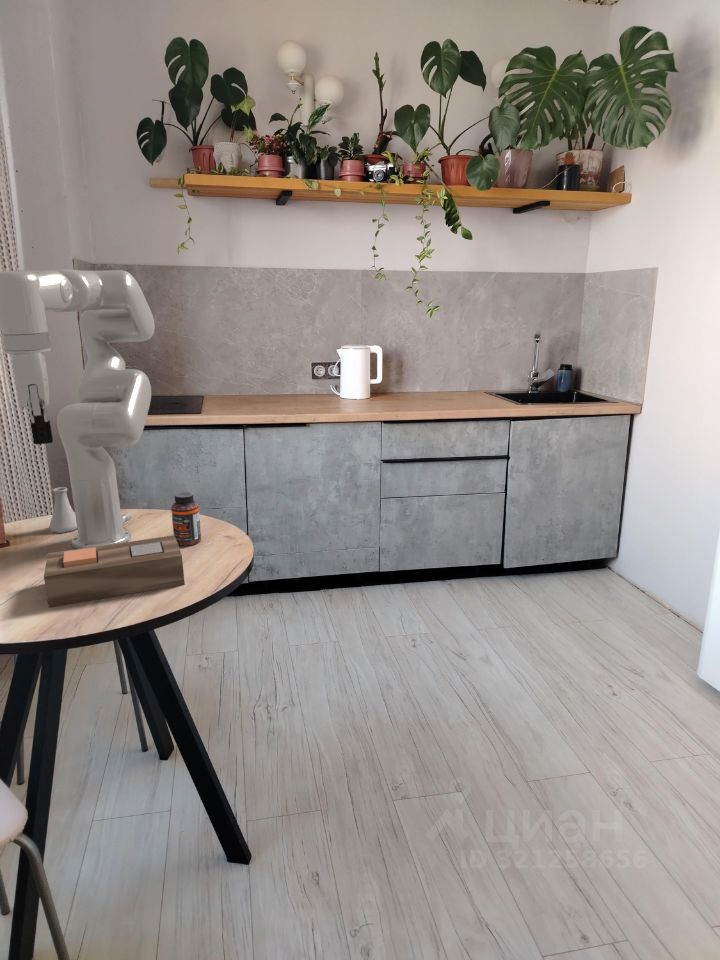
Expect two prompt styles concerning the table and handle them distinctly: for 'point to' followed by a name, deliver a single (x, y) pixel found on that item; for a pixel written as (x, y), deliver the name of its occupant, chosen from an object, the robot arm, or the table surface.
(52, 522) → the flask
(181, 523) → the supplement bottle
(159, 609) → the table surface
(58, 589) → the button console
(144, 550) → the metal button
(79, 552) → the terracotta button
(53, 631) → the table surface
